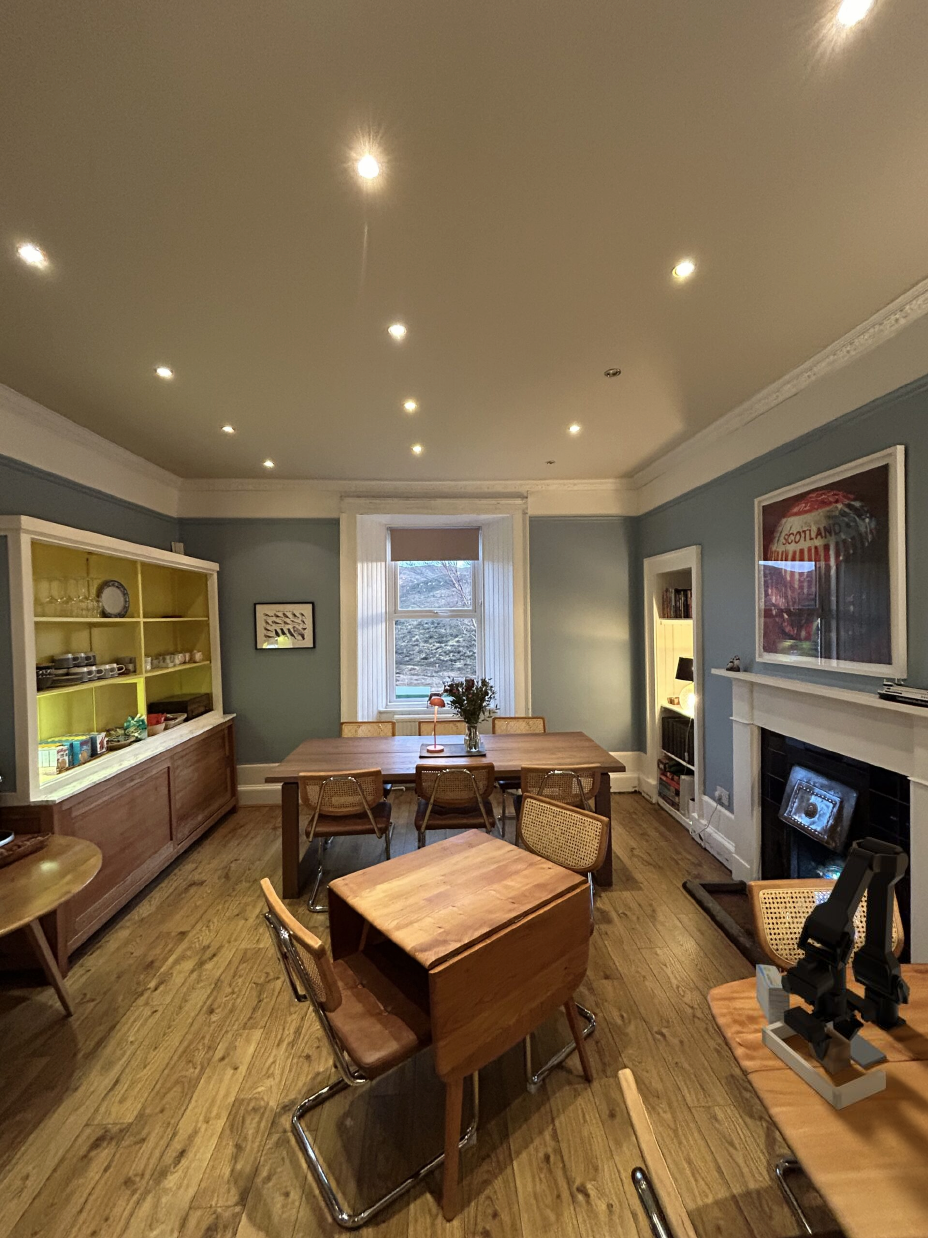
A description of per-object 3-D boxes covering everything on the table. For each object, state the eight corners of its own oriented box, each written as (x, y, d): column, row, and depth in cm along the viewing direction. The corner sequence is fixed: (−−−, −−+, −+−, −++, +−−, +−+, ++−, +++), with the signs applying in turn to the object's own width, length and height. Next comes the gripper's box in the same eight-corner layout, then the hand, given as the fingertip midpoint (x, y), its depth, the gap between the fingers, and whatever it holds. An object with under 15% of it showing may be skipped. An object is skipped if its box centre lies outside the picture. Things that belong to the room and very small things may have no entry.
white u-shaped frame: (806, 1025, 113) (806, 1012, 113) (885, 1088, 98) (885, 1073, 98) (761, 1041, 109) (761, 1028, 109) (837, 1110, 94) (837, 1094, 94)
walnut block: (826, 1047, 108) (825, 1023, 108) (850, 1067, 103) (850, 1042, 103) (808, 1054, 106) (808, 1030, 106) (832, 1074, 101) (832, 1049, 101)
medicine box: (790, 1029, 113) (790, 990, 112) (768, 1026, 113) (768, 987, 113) (776, 1002, 120) (776, 965, 120) (755, 999, 121) (755, 963, 121)
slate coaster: (832, 1018, 115) (832, 1015, 115) (886, 1058, 105) (886, 1055, 105) (810, 1026, 113) (810, 1023, 113) (862, 1068, 103) (862, 1065, 103)
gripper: (823, 945, 115) (823, 1014, 115) (760, 965, 109) (760, 1037, 109) (876, 979, 104) (877, 1054, 105) (810, 1002, 98) (810, 1082, 99)
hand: (829, 1055), depth 105 cm, fingers closed on walnut block, 5 cm apart
